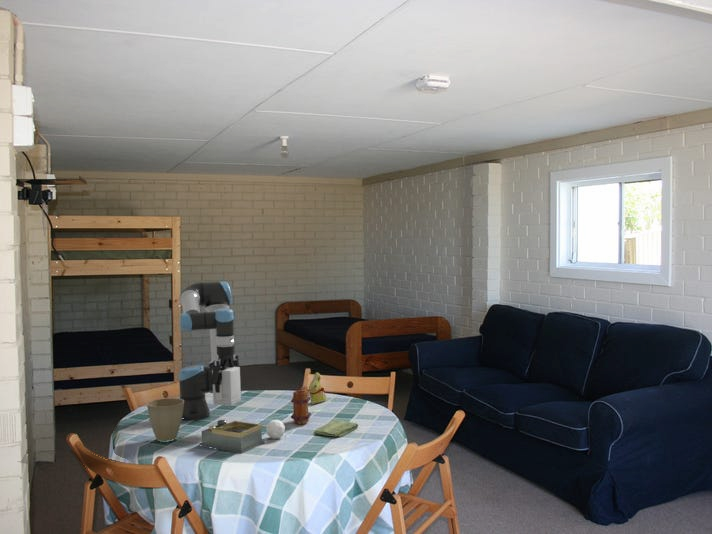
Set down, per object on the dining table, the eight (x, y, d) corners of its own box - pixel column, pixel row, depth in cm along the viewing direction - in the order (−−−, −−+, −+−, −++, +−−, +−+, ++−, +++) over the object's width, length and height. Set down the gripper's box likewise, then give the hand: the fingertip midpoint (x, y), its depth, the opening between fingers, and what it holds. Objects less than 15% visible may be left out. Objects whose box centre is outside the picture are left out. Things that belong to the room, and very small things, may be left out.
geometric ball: (274, 443, 283) (277, 425, 288) (287, 439, 278) (290, 421, 283) (260, 437, 279) (263, 419, 283) (273, 433, 274) (276, 415, 278)
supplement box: (241, 400, 296) (240, 366, 295) (231, 406, 287) (230, 371, 286) (223, 399, 299) (222, 365, 298) (212, 404, 290) (211, 369, 289)
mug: (307, 426, 298) (306, 392, 297) (289, 425, 299) (288, 391, 299) (315, 417, 312) (314, 384, 311) (298, 416, 314) (297, 384, 313)
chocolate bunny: (305, 404, 337) (305, 374, 337) (321, 399, 346) (320, 370, 345) (315, 406, 333) (314, 375, 332) (331, 401, 341) (330, 371, 340)
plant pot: (165, 447, 272) (164, 408, 271) (140, 442, 280) (138, 404, 279) (193, 437, 285) (191, 400, 284) (168, 433, 293) (166, 396, 292)
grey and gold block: (199, 446, 273) (198, 426, 272) (223, 436, 285) (222, 417, 285) (241, 453, 262) (241, 432, 262) (264, 443, 275) (264, 423, 274)
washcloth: (312, 435, 285) (311, 428, 285) (335, 425, 300) (335, 417, 300) (338, 440, 278) (337, 432, 278) (360, 429, 293) (360, 421, 293)
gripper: (214, 350, 280) (216, 404, 281) (248, 341, 299) (250, 392, 301) (200, 349, 284) (202, 402, 285) (235, 340, 303) (236, 390, 304)
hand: (227, 396), depth 293 cm, fingers closed on supplement box, 10 cm apart
